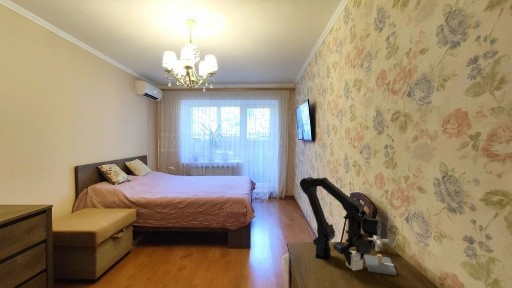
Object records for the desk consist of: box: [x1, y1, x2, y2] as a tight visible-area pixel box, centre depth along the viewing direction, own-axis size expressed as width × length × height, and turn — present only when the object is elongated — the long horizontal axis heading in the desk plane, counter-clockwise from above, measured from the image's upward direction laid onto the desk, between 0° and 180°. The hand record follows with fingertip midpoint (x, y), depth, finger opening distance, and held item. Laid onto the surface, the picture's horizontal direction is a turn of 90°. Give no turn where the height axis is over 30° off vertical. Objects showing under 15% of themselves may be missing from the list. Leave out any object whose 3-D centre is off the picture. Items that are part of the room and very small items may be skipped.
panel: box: [363, 253, 398, 276], centre depth 112 cm, size 12×13×5 cm
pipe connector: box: [367, 235, 390, 252], centre depth 127 cm, size 10×10×10 cm
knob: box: [345, 250, 364, 272], centre depth 111 cm, size 5×5×6 cm
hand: (354, 264), depth 111 cm, fingers closed on knob, 5 cm apart
